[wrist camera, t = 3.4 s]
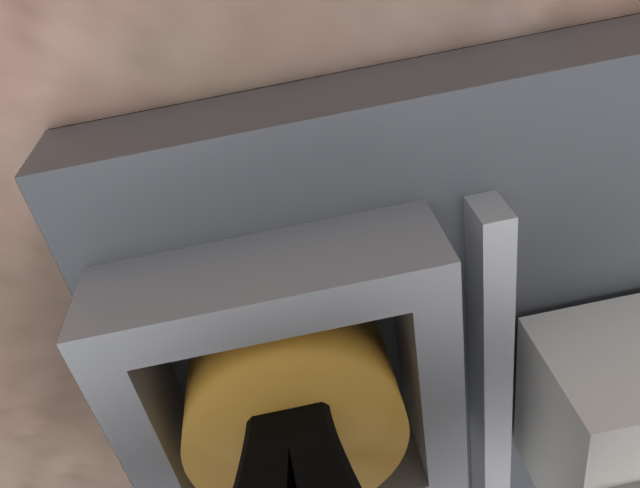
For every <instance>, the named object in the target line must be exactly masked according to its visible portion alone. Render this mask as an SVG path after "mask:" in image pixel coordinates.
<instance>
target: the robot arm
mask: <svg viewBox="0 0 640 488" xmlns="http://www.w3.org/2000/svg"><path fill="white" fill-rule="evenodd" d="M233 488H362V487H361V485H360V483H359V481H358V479H357V477H356V475H355V473H354V471H353V469H352V467H351V464H350V462H349V460H348V458H347V455H346V453H345V451H344V449H343V446H342V444H341V441H340V439H339V436H338V433H337V431H336V428H335V425H334V421H333V418H332V415H331V410H330V406H329V405H328V404H326V403H324V402H318V403H313V404H309V405H304V406H299V407H295V408H290V409H285V410H280V411H275V412H270V413H266V414H261V415H256V416H252V417H251V418H250V419H249V420H248V421H247V423H246V430H245V436H244V442H243V447H242V452H241V457H240V461H239V465H238V470H237V474H236V477H235V481H234V485H233Z"/></svg>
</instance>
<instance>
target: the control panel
mask: <svg viewBox="0 0 640 488" xmlns="http://www.w3.org/2000/svg"><path fill="white" fill-rule="evenodd" d="M14 179H15V181H16V183H17V185H18V187H19V189H20V191H21V193H22V195H23V197H24V199H25V201H26V203H27V205H28V207H29V209H30V211H31V213H32V215H33V217H34V219H35V221H36V223H37V225H38V227H39V229H40V231H41V233H42V235H43V237H44V239H45V241H46V243H47V245H48V247H49V250H50V252H51V254H52V256H53V258H54V260H55V262H56V264H57V266H58V268H59V270H60V272H61V274H62V276H63V278H64V280H65V282H66V284H67V286H68V288H69V290H70V292H71V294H72V296H73V298H72V301H71V303H70V306H69V309H68V312H67V315H66V317H65V320H64V323H63V326H62V328H61V331H60V334H59V337H58V340H57V342H56V345H57V347H58V349H59V351H60V353H61V355H62V357H63V358H64V360H65V362H66V364H67V366H68V368H69V369H70V371H71V373H72V375H73V377H74V379H75V380H76V382H77V384H78V386H79V388H80V390H81V391H82V393H83V395H84V397H85V399H86V401H87V402H88V404H89V406H90V408H91V410H92V412H93V414H94V415H95V417H96V419H97V421H98V423H99V425H100V426H101V428H102V430H103V432H104V434H105V436H106V437H107V439H108V441H109V443H110V445H111V447H112V448H113V450H114V452H115V454H116V456H117V458H118V459H119V461H120V463H121V465H122V467H123V469H124V471H125V472H126V474H127V476H128V478H129V480H130V482H131V483H132V485H133V487H134V488H195V486H194V485H193V484H192V483H191V482H190V480H189V478H188V477H187V475H186V473H185V471H184V468H183V465H182V461H181V453H180V451H181V438H182V427H183V415H184V403H185V391H186V379H187V367H188V359H189V358H193V357H198V356H203V355H208V354H213V353H218V352H223V351H228V350H232V349H237V348H242V347H247V346H252V345H257V344H262V343H267V342H272V341H276V340H281V339H286V338H291V337H296V336H301V335H306V334H311V333H316V332H320V331H325V330H330V329H335V328H340V327H345V326H350V325H355V324H360V323H364V322H369V321H374V322H375V324H376V325H377V327H378V328H379V330H380V333H381V335H382V337H383V340H384V343H385V346H386V350H387V353H388V356H389V359H390V362H391V365H392V369H393V372H394V375H395V378H396V381H397V384H398V388H399V391H400V394H401V397H402V400H403V403H404V407H405V410H406V413H407V416H408V421H409V425H410V436H409V442H408V446H407V449H406V452H405V455H404V456H403V458H402V460H401V462H400V464H399V465H398V466H397V468H396V469H395V470H394V472H393V473H392V474H391V475H390V476H389V477H388V478H387V479H386V480H385V481H384V482H383V483H382V484H380V485H379V486H378V487H377V488H536V487H535V485H534V483H533V481H532V479H531V477H530V475H529V473H528V471H527V469H526V467H525V465H524V463H523V461H522V458H521V456H520V454H519V452H518V450H517V448H516V446H515V444H514V423H515V393H516V363H517V333H518V318H519V317H524V316H529V315H534V314H539V313H544V312H549V311H554V310H558V309H563V308H568V307H573V306H578V305H583V304H588V303H592V302H597V301H602V300H607V299H612V298H617V297H622V296H627V295H631V294H636V293H640V14H635V15H630V16H625V17H620V18H615V19H609V20H604V21H599V22H594V23H589V24H584V25H579V26H574V27H569V28H564V29H559V30H554V31H549V32H543V33H538V34H533V35H528V36H523V37H518V38H513V39H508V40H503V41H498V42H493V43H488V44H483V45H477V46H472V47H467V48H462V49H457V50H452V51H447V52H442V53H437V54H432V55H427V56H422V57H416V58H411V59H406V60H401V61H396V62H391V63H386V64H381V65H376V66H371V67H366V68H361V69H356V70H350V71H345V72H340V73H335V74H330V75H325V76H320V77H315V78H310V79H305V80H300V81H295V82H289V83H284V84H279V85H274V86H269V87H264V88H259V89H254V90H249V91H244V92H239V93H234V94H229V95H223V96H218V97H213V98H208V99H203V100H198V101H193V102H188V103H183V104H178V105H173V106H168V107H163V108H157V109H152V110H147V111H142V112H137V113H132V114H127V115H122V116H117V117H112V118H107V119H102V120H96V121H91V122H86V123H81V124H76V125H71V126H66V127H61V128H56V129H51V130H46V131H45V133H44V134H43V136H42V137H41V139H40V140H39V142H38V143H37V145H36V146H35V148H34V149H33V151H32V152H31V154H30V155H29V157H28V158H27V160H26V161H25V163H24V164H23V166H22V167H21V169H20V170H19V172H18V173H17V175H16V176H15V177H14Z"/></svg>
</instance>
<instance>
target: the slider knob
mask: <svg viewBox="0 0 640 488" xmlns="http://www.w3.org/2000/svg"><path fill="white" fill-rule="evenodd" d="M514 444H515V446H516V448H517V450H518V452H519V454H520V456H521V458H522V461H523V463H524V465H525V467H526V469H527V471H528V473H529V475H530V477H531V479H532V481H533V483H534V485H535V487H536V488H640V293H636V294H631V295H627V296H622V297H617V298H612V299H607V300H602V301H597V302H592V303H588V304H583V305H578V306H573V307H568V308H563V309H558V310H554V311H549V312H544V313H539V314H534V315H529V316H524V317H519V318H518V333H517V363H516V393H515V423H514Z"/></svg>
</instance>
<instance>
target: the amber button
mask: <svg viewBox="0 0 640 488" xmlns="http://www.w3.org/2000/svg"><path fill="white" fill-rule="evenodd" d="M318 402H324V403H326V404H328V405H329V406H330V410H331V415H332V418H333V421H334V425H335V428H336V431H337V433H338V436H339V439H340V441H341V444H342V446H343V449H344V451H345V453H346V455H347V458H348V460H349V462H350V464H351V467H352V469H353V471H354V473H355V475H356V477H357V479H358V481H359V483H360V485H361V487H362V488H377V487H378V486H379V485H380V484H382V483H383V482H384V481H385V480H386V479H387V478H388V477H389V476H390V475H391V474H392V473H393V472H394V470H395V469H396V468H397V466H398V465H399V464H400V462H401V460H402V458H403V456H404V455H405V452H406V449H407V446H408V442H409V436H410V425H409V421H408V416H407V413H406V410H405V407H404V403H403V400H402V397H401V394H400V391H399V388H398V384H397V381H396V378H395V375H394V372H393V369H392V365H391V362H390V359H389V356H388V353H387V350H386V346H385V343H384V340H383V337H382V335H381V333H380V330H379V328H378V327H377V325H376V324H375V322H374V321H369V322H364V323H360V324H355V325H350V326H345V327H340V328H335V329H330V330H325V331H320V332H316V333H311V334H306V335H301V336H296V337H291V338H286V339H281V340H276V341H272V342H267V343H262V344H257V345H252V346H247V347H242V348H237V349H232V350H228V351H223V352H218V353H213V354H208V355H203V356H198V357H193V358H189V359H188V367H187V379H186V391H185V403H184V415H183V427H182V438H181V451H180V453H181V461H182V465H183V468H184V471H185V473H186V475H187V477H188V478H189V480H190V482H191V483H192V484H193V485H194V486H195V488H233V485H234V481H235V477H236V474H237V470H238V465H239V461H240V457H241V452H242V447H243V442H244V436H245V430H246V423H247V421H248V420H249V419H250V418H251V417H252V416H256V415H261V414H266V413H270V412H275V411H280V410H285V409H290V408H295V407H299V406H304V405H309V404H313V403H318Z"/></svg>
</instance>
